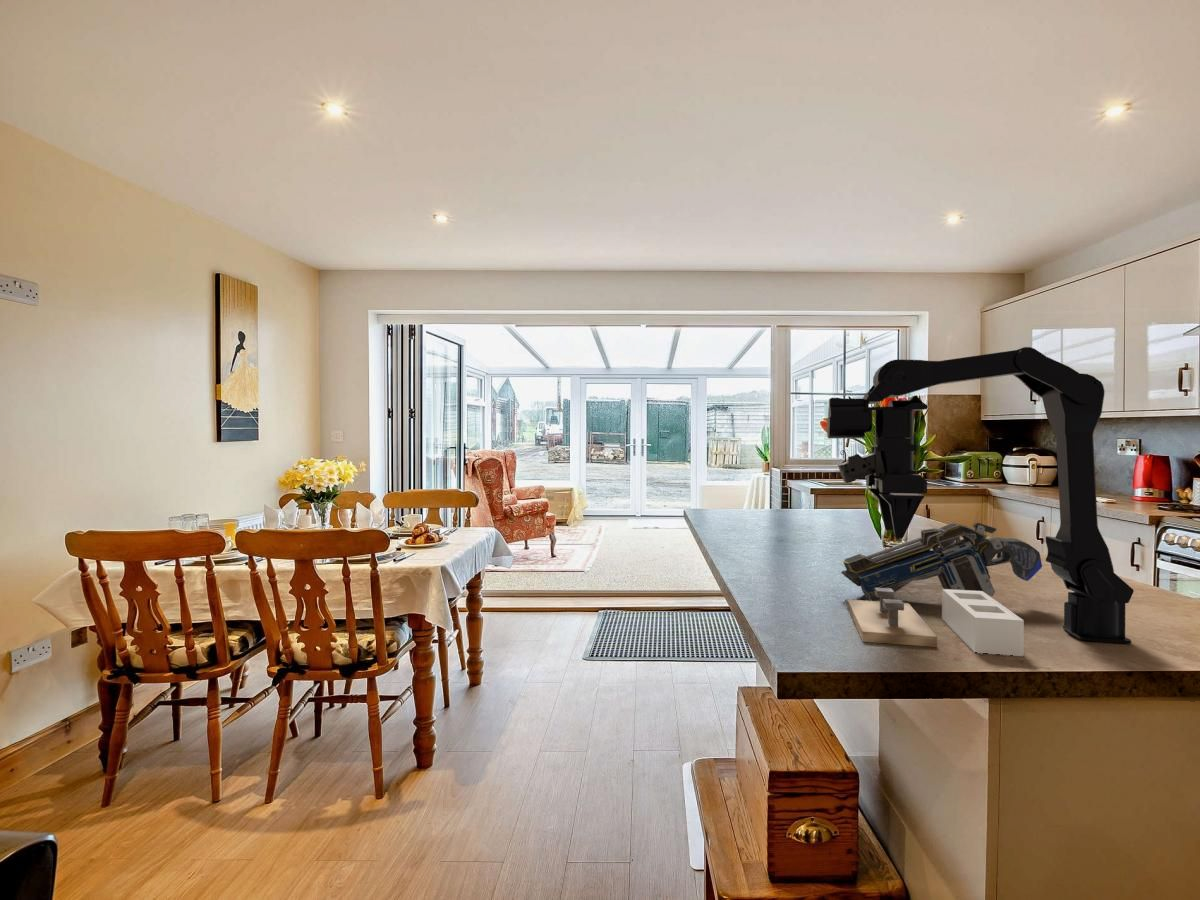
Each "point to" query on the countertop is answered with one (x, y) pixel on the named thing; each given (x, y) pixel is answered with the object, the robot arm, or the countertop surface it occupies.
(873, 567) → the firearm
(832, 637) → the countertop surface
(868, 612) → the mounting board
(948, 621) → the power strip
